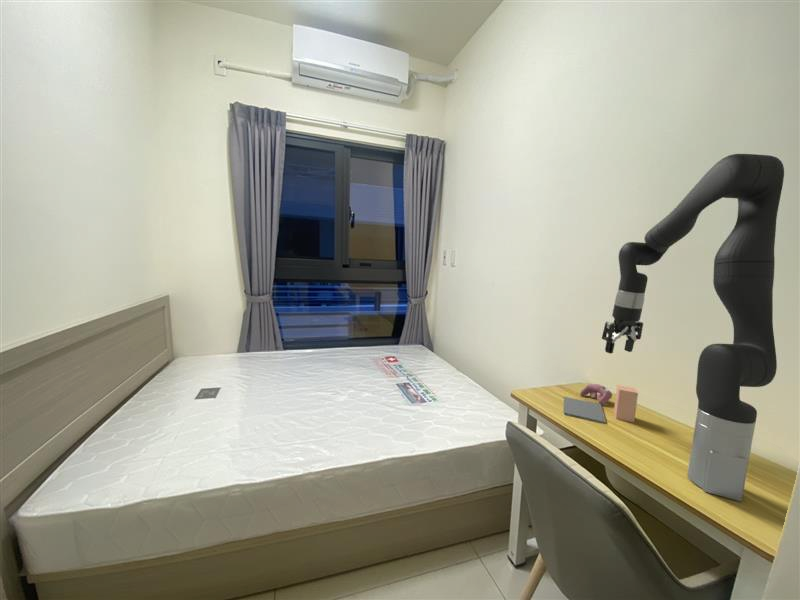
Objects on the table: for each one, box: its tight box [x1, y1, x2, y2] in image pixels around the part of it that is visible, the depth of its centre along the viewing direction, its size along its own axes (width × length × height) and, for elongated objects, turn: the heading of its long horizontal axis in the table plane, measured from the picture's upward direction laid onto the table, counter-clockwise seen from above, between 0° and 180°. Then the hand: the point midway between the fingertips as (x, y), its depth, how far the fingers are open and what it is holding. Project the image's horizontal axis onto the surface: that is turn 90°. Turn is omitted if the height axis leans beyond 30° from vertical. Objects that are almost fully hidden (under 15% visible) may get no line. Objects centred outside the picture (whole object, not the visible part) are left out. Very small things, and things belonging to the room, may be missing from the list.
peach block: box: [613, 384, 639, 423], centre depth 107 cm, size 5×5×10 cm
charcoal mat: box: [563, 396, 607, 424], centre depth 112 cm, size 16×12×1 cm
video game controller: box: [579, 382, 613, 406], centre depth 121 cm, size 10×5×7 cm, turn 16°
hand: (618, 351), depth 107 cm, fingers open, 8 cm apart
